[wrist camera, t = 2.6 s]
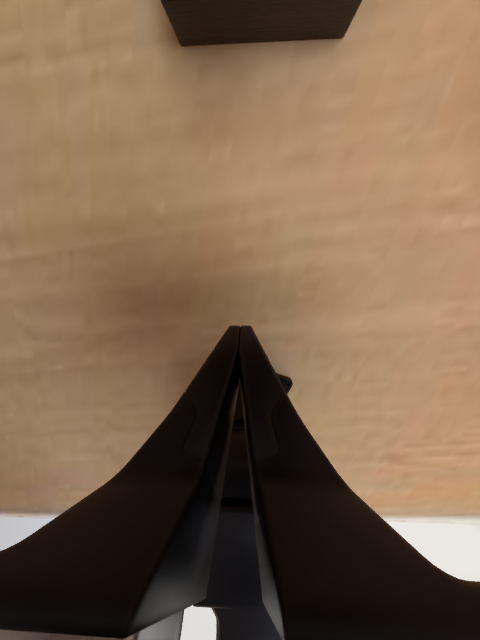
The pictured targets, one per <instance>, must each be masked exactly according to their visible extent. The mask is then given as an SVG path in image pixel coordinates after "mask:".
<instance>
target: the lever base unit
mask: <svg viewBox="0 0 480 640" xmlns="http://www.w3.org/2000/svg"><path fill="white" fill-rule="evenodd" d="M161 2H162V4H163V7H164V9H165V11H166V13H167V16H168V18H169V20H170V22H171V25H172V27H173V29H174V31H175V34H176V36H177V38H178V40H179V43H180V45H181V46H186V45H205V44H225V43H244V42H263V41H282V40H302V39H321V38H340V37H344V35H345V33H346V31H347V29H348V27H349V25H350V23H351V21H352V19H353V17H354V15H355V13H356V11H357V9H358V8H359V6H360V4H361V2H362V0H161Z"/></svg>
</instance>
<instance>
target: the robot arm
mask: <svg viewBox="0 0 480 640" xmlns="http://www.w3.org/2000/svg"><path fill="white" fill-rule="evenodd" d="M287 382H289V383H288V384H286V383H287ZM291 387H292V380H291V379H290V378H287V377H284V376H281V375H278V374H276V373H275V371H274V369H273V367H272V365H271V363H270V361H269V359H268V357H267V356H266V354H265V352H264V350H263V348H262V346H261V344H260V342H259V340H258V338H257V336H256V335H255V333H254V331H253V329H252V327H251V326H241V327H240V326H229V328H228V329H227V330H226V332H225V333H224V335H223V336H222V338H221V339H220V341H219V342H218V344H217V345H216V347H215V348H214V350H213V351H212V353H211V354H210V355H209V357H208V358H207V360H206V361H205V363H204V364H203V366H202V367H201V369H200V370H199V372H198V373H197V375H196V376H195V378H194V379H193V380H192V382H191V383H190V385H189V386H188V388H187V389H186V392H184V394H183V395H182V396H181V398H180V399H179V401H178V402H177V404H176V405H175V406H174V408H173V409H172V411H171V412H170V413H169V415H168V416H167V417H166V418H165V419H164V421H163V422H162V423H161V424H160V426H159V427H158V428H157V429H156V430H155V432H154V433H153V434H152V435H151V436H150V437H149V439H148V440H147V441H146V442H145V443H144V445H143V446H142V447H141V448H140V449H139V450H138V452H137V453H136V454H135V455H134V456H133V457H132V459H131V460H130V461H129V462H128V463H127V464H126V465H125V467H124V468H123V469H122V470H121V471H120V472H119V473H117V474H116V475H115V476H114V477H113V478H112V479H111V480H109V481H108V482H107V483H105V484H104V485H103V486H101V487H100V488H98V489H97V490H95V491H94V492H93V493H91V494H90V495H88V496H87V497H85V498H84V499H82V500H81V501H80V502H78V503H77V504H75V505H74V506H72V507H71V508H69V509H68V510H66V511H65V512H64V513H62V514H61V515H59V516H58V517H56V518H55V519H54V520H52V521H51V522H49V523H48V524H46V525H45V526H43V527H42V528H40V529H39V530H38V531H36V532H35V533H33V534H32V535H30V536H29V537H27V538H26V539H24V540H22V541H21V542H19V543H17V544H15V545H13V546H11V547H9V548H7V549H5V550H2V551H0V640H180V636H181V629H182V622H183V615H184V609H186V608H187V607H190V606H192V605H193V606H196V607H210V608H212V610H213V612H214V614H215V616H216V620H217V634H216V635H217V636H216V640H480V582H475V581H465V580H461V579H458V578H455V577H453V576H451V575H449V574H447V573H445V572H444V571H442V570H441V569H439V568H437V567H436V566H434V565H433V564H432V563H431V562H429V561H428V560H427V559H426V558H425V557H423V556H422V555H421V554H420V553H419V552H418V551H417V550H416V549H415V548H414V547H412V546H411V545H410V544H409V543H408V542H407V541H406V540H405V539H404V538H403V537H402V536H401V535H399V534H398V533H397V532H396V531H395V530H394V529H393V528H392V527H391V526H390V525H389V524H387V523H386V522H385V521H384V520H383V519H382V518H381V517H380V516H379V515H378V514H377V513H376V512H375V511H373V510H372V509H371V508H370V507H369V506H368V505H367V504H366V503H365V502H364V501H363V500H362V499H360V498H359V497H358V496H357V495H356V494H355V493H354V492H353V491H352V490H351V489H350V488H349V487H348V485H347V484H346V483H345V482H344V481H343V479H342V478H341V477H340V476H339V474H338V473H337V471H336V470H335V469H334V467H333V466H332V464H331V463H330V461H329V460H328V459H327V457H326V456H325V454H324V453H323V451H322V450H321V448H320V447H319V446H318V444H317V443H316V441H315V440H314V438H313V437H312V435H311V434H310V432H309V431H308V429H307V428H306V426H305V425H304V423H303V422H302V420H301V419H300V417H299V415H298V414H297V412H296V410H295V408H294V407H293V405H292V403H291V401H290V399H289V397H288V395H287V393H288V392H289V390H290V388H291Z"/></svg>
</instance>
